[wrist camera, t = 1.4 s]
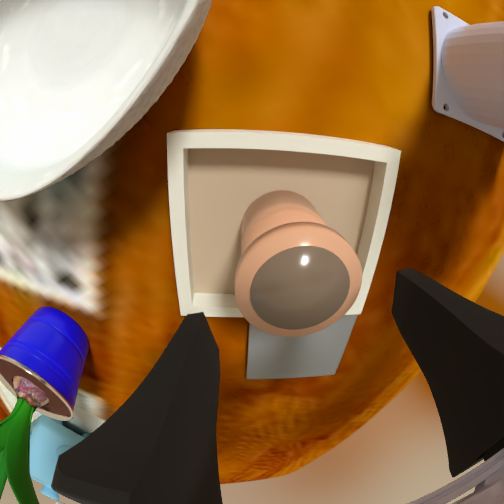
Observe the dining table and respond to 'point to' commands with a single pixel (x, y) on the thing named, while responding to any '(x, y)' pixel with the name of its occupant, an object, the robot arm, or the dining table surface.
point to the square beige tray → (259, 183)
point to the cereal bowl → (82, 79)
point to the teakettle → (49, 449)
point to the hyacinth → (38, 388)
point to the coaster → (297, 352)
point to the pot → (293, 267)
